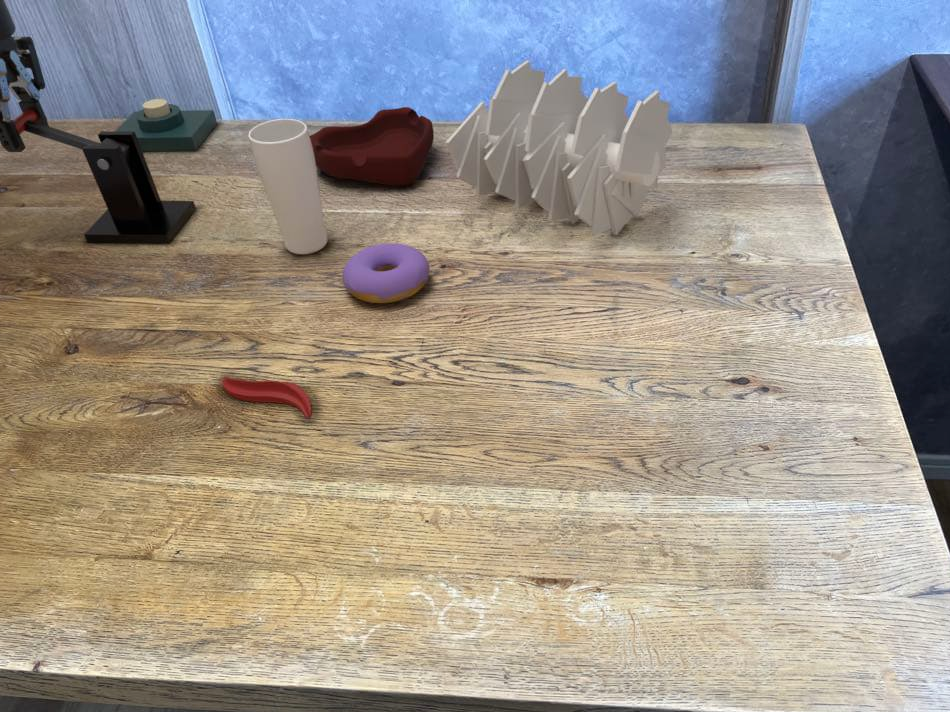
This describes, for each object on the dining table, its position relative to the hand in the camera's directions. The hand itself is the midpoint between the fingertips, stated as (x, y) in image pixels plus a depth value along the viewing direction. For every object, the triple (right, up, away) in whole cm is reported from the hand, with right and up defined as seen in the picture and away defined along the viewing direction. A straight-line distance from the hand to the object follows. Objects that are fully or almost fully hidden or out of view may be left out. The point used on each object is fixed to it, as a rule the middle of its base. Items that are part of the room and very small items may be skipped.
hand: (28, 140), depth 101 cm
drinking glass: (+34, -13, +2) cm, 36 cm away
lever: (+5, -1, 0) cm, 5 cm away
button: (+4, +12, +25) cm, 28 cm away
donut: (+45, -19, -5) cm, 50 cm away
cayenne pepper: (+36, -32, -19) cm, 52 cm away
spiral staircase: (+66, -7, +6) cm, 67 cm away
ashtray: (+41, +1, +17) cm, 44 cm away
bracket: (+11, -9, +7) cm, 16 cm away
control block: (+4, +9, +28) cm, 30 cm away
